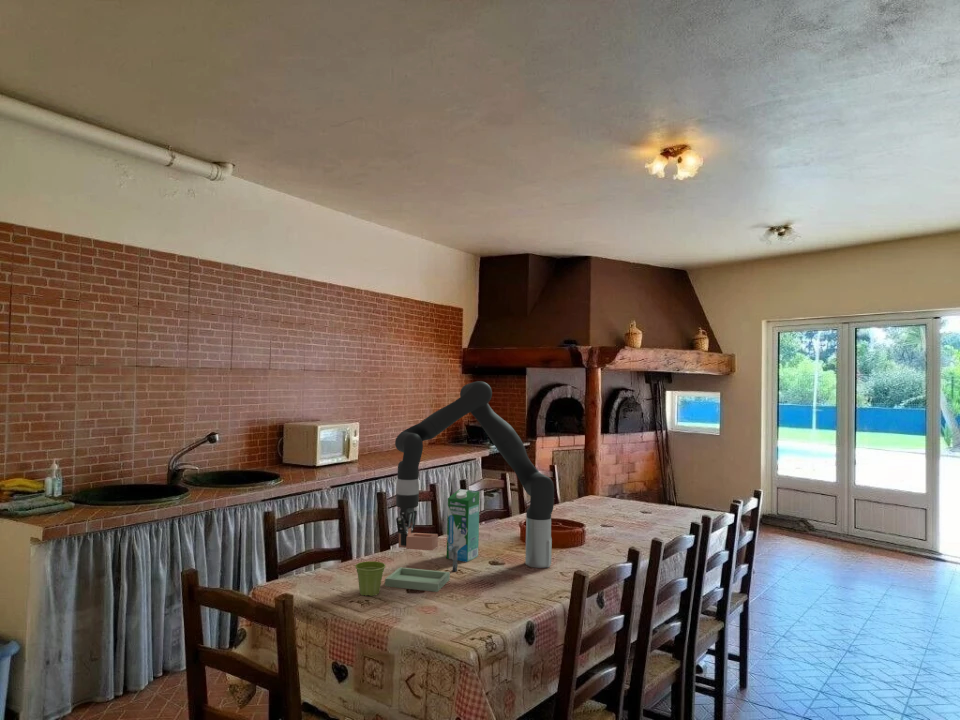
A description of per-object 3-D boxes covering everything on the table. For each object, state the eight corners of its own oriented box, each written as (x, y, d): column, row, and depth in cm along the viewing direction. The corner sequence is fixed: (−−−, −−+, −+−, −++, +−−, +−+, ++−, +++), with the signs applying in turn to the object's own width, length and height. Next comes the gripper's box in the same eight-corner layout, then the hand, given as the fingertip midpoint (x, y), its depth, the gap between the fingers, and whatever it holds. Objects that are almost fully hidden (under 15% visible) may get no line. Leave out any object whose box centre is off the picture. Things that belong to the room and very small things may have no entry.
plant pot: (371, 586, 201) (371, 559, 201) (391, 592, 195) (391, 565, 195) (348, 593, 193) (349, 565, 194) (368, 600, 187) (368, 571, 188)
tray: (449, 579, 209) (449, 572, 209) (437, 591, 196) (437, 584, 196) (399, 574, 213) (400, 567, 213) (385, 586, 201) (385, 578, 201)
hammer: (458, 569, 221) (459, 546, 221) (455, 573, 216) (455, 549, 216) (454, 568, 221) (455, 545, 221) (450, 572, 216) (451, 549, 217)
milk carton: (446, 558, 234) (447, 492, 234) (458, 552, 242) (459, 488, 242) (467, 562, 229) (468, 494, 230) (478, 556, 237) (479, 490, 238)
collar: (437, 546, 207) (437, 528, 207) (432, 550, 201) (432, 531, 201) (403, 544, 210) (403, 526, 210) (397, 548, 204) (397, 530, 204)
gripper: (410, 496, 199) (409, 550, 199) (425, 489, 213) (423, 540, 212) (388, 494, 201) (387, 548, 201) (404, 488, 215) (403, 538, 214)
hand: (406, 543), depth 206 cm, fingers closed on collar, 3 cm apart
